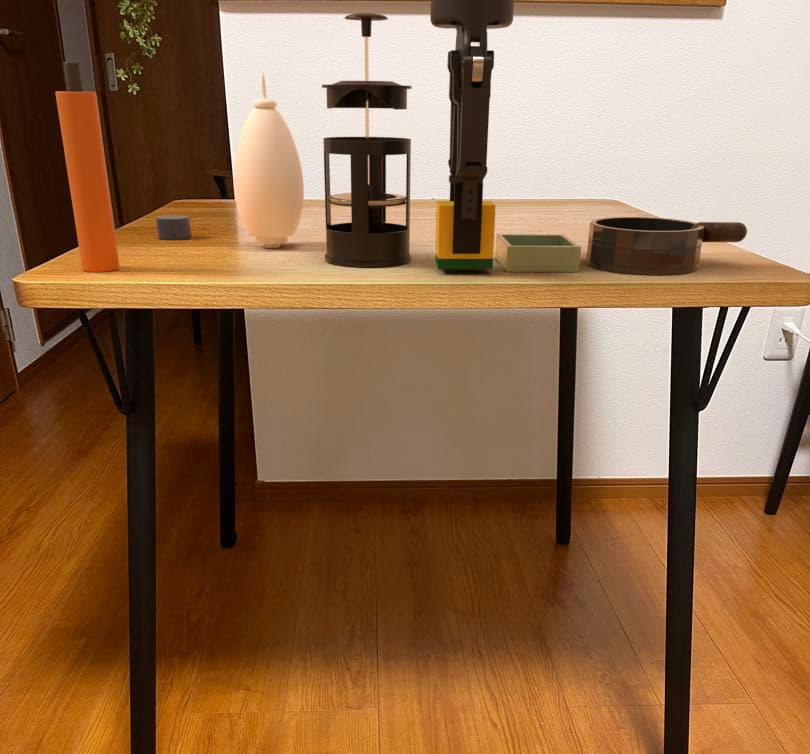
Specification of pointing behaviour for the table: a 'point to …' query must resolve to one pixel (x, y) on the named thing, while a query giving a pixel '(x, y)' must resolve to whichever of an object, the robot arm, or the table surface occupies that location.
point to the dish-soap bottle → (87, 173)
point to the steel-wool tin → (173, 227)
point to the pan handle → (722, 231)
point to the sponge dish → (537, 253)
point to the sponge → (445, 239)
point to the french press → (367, 174)
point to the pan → (644, 245)
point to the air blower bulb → (268, 175)
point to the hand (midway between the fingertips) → (464, 249)
